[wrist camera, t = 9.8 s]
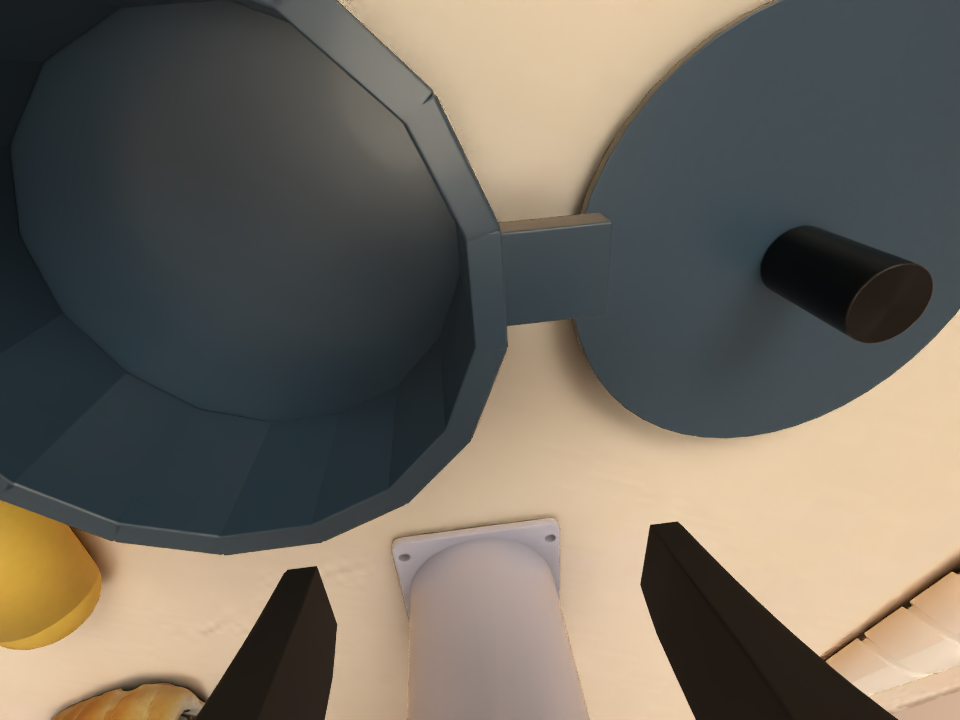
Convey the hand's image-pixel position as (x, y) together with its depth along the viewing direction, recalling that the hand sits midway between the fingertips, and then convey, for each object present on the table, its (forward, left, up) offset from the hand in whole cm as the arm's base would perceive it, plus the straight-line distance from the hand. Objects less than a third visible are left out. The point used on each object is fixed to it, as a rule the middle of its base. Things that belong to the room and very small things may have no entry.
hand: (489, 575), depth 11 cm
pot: (+5, +6, -9) cm, 12 cm away
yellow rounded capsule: (-5, +18, -9) cm, 21 cm away
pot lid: (+3, -12, -9) cm, 15 cm away
